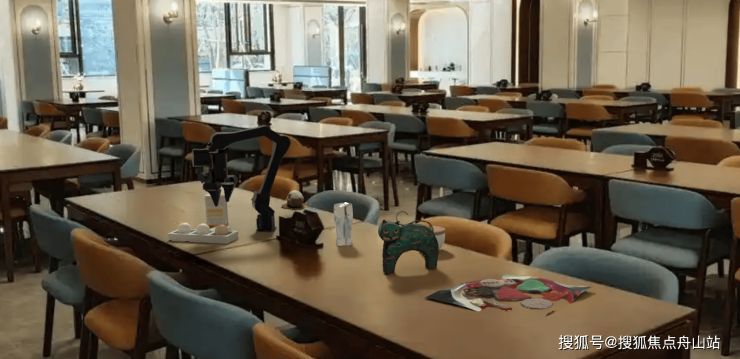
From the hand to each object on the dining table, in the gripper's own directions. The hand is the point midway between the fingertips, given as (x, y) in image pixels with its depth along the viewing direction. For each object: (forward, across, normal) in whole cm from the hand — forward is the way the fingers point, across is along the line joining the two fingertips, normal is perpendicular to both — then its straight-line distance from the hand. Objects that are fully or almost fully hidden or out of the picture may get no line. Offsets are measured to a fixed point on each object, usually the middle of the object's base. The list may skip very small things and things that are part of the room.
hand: (221, 204), depth 320 cm
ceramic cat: (+12, +36, +85) cm, 93 cm away
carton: (+12, +10, -3) cm, 16 cm away
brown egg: (+11, +10, +4) cm, 15 cm away
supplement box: (+12, -14, -10) cm, 21 cm away
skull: (+12, -57, +7) cm, 59 cm away
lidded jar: (+12, +9, +86) cm, 87 cm away
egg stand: (+12, -1, -2) cm, 12 cm away
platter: (+13, +55, +120) cm, 132 cm away
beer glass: (+12, +7, +53) cm, 55 cm away
